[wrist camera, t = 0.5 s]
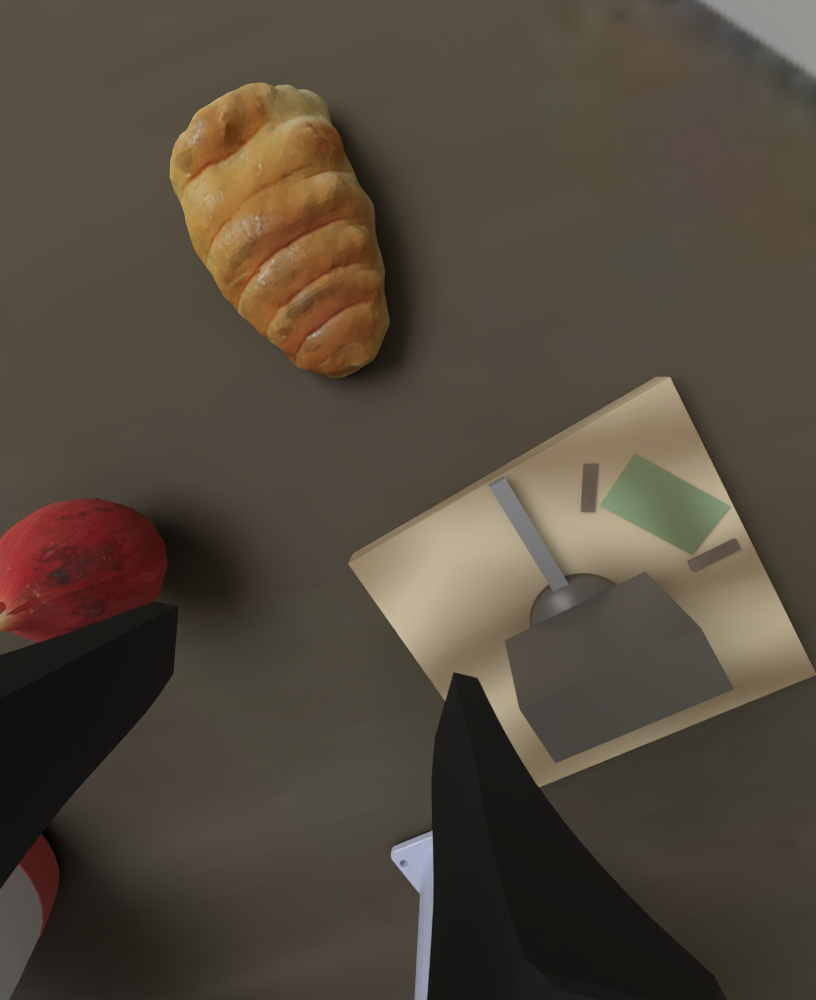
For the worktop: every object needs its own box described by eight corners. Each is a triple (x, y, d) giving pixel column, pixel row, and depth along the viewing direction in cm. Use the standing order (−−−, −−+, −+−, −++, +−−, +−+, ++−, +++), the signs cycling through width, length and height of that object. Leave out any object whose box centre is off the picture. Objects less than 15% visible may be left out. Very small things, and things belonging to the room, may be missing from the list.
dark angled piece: (670, 625, 20) (745, 709, 15) (539, 685, 21) (567, 781, 16) (566, 437, 18) (611, 462, 13) (429, 516, 20) (423, 566, 15)
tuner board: (796, 658, 21) (819, 677, 20) (510, 777, 24) (513, 800, 23) (656, 376, 18) (671, 377, 17) (353, 553, 22) (347, 565, 20)
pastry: (433, 331, 19) (429, 322, 15) (296, 406, 20) (263, 414, 17) (320, 93, 17) (285, 17, 13) (177, 194, 18) (109, 150, 15)
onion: (156, 459, 21) (-10, 509, 13) (223, 563, 22) (105, 664, 15) (63, 511, 22) (-139, 585, 15) (131, 608, 23) (-22, 723, 16)
